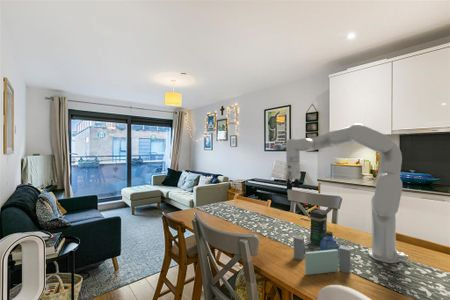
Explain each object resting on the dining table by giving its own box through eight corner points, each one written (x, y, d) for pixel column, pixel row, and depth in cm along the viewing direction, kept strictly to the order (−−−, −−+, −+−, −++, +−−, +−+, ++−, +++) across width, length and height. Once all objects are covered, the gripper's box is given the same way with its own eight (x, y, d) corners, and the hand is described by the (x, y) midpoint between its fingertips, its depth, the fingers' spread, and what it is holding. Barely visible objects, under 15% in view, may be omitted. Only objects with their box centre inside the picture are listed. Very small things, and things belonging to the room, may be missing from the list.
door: (336, 269, 97) (336, 249, 96) (338, 271, 95) (338, 250, 95) (305, 273, 94) (305, 252, 94) (306, 274, 93) (306, 253, 93)
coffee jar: (321, 247, 119) (321, 213, 119) (308, 242, 125) (307, 210, 125) (329, 242, 126) (329, 209, 125) (315, 238, 131) (315, 207, 131)
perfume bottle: (332, 253, 112) (332, 230, 112) (338, 259, 106) (338, 234, 106) (320, 253, 112) (320, 230, 112) (326, 259, 106) (326, 235, 106)
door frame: (350, 270, 96) (350, 247, 96) (349, 273, 94) (349, 250, 94) (295, 255, 110) (295, 235, 110) (294, 257, 108) (293, 237, 108)
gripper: (292, 160, 122) (292, 191, 122) (304, 159, 135) (305, 187, 135) (280, 160, 127) (280, 189, 127) (293, 159, 140) (293, 185, 140)
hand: (293, 188), depth 131 cm, fingers open, 9 cm apart
